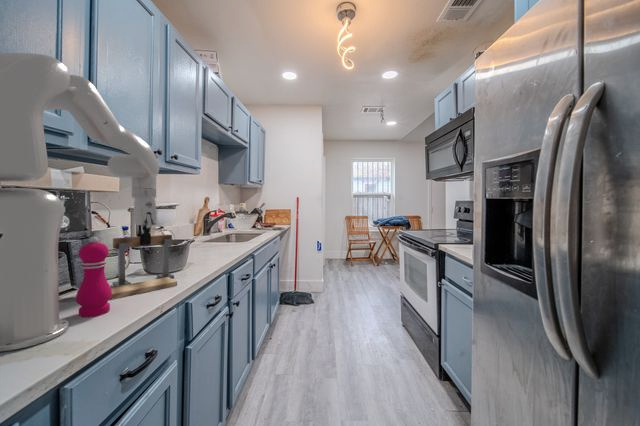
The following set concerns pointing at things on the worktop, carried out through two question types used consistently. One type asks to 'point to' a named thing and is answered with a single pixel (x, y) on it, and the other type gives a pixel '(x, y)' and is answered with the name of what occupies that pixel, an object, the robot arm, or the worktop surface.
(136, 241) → the walnut rail
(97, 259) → the pepper mill
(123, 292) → the oak board
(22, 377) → the worktop surface
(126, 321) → the worktop surface
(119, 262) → the hook stands
